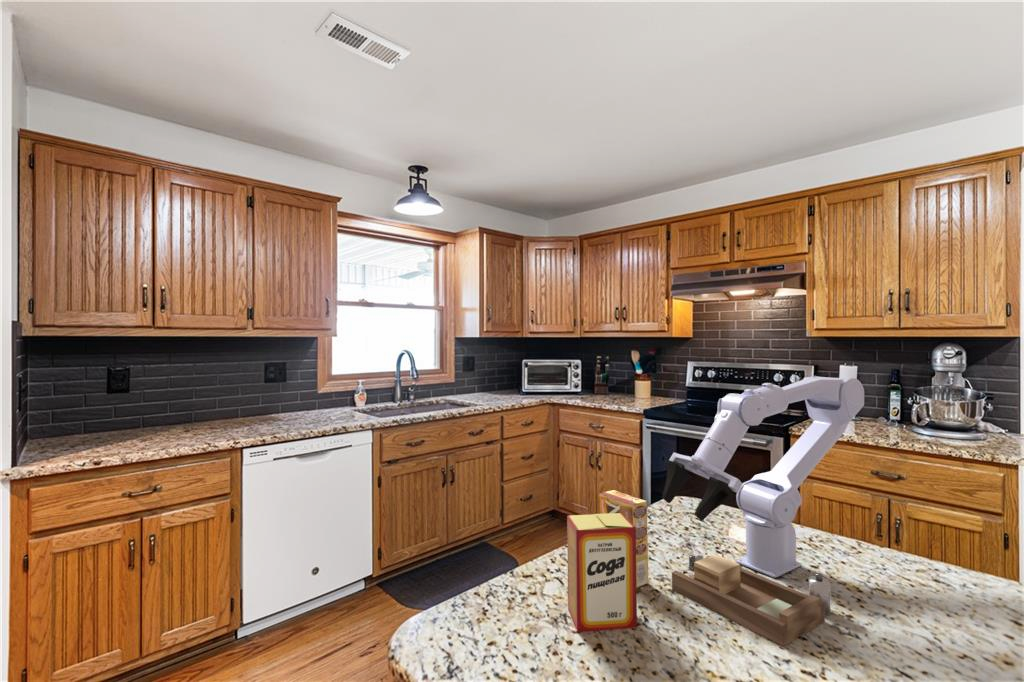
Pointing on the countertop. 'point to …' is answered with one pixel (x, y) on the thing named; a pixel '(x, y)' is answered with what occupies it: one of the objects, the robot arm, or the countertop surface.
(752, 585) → the bay
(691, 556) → the crank handle
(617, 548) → the baking soda box
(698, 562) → the tan wooden block
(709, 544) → the countertop surface
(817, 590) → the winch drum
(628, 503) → the candy box
